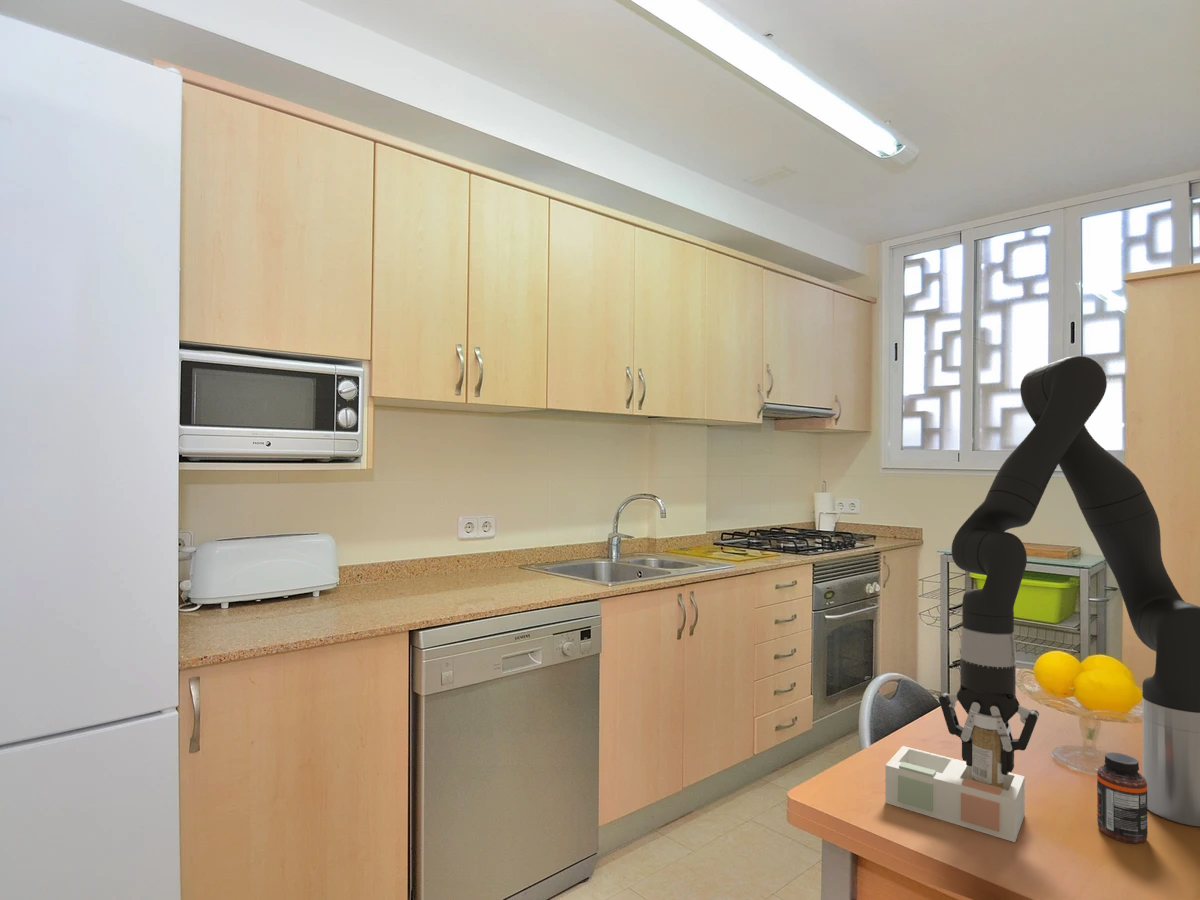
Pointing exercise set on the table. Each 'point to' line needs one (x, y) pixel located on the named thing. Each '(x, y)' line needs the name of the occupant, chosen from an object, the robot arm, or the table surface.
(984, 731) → the spice jar
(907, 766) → the socket block
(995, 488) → the robot arm
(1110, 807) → the supplement bottle
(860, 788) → the table surface
